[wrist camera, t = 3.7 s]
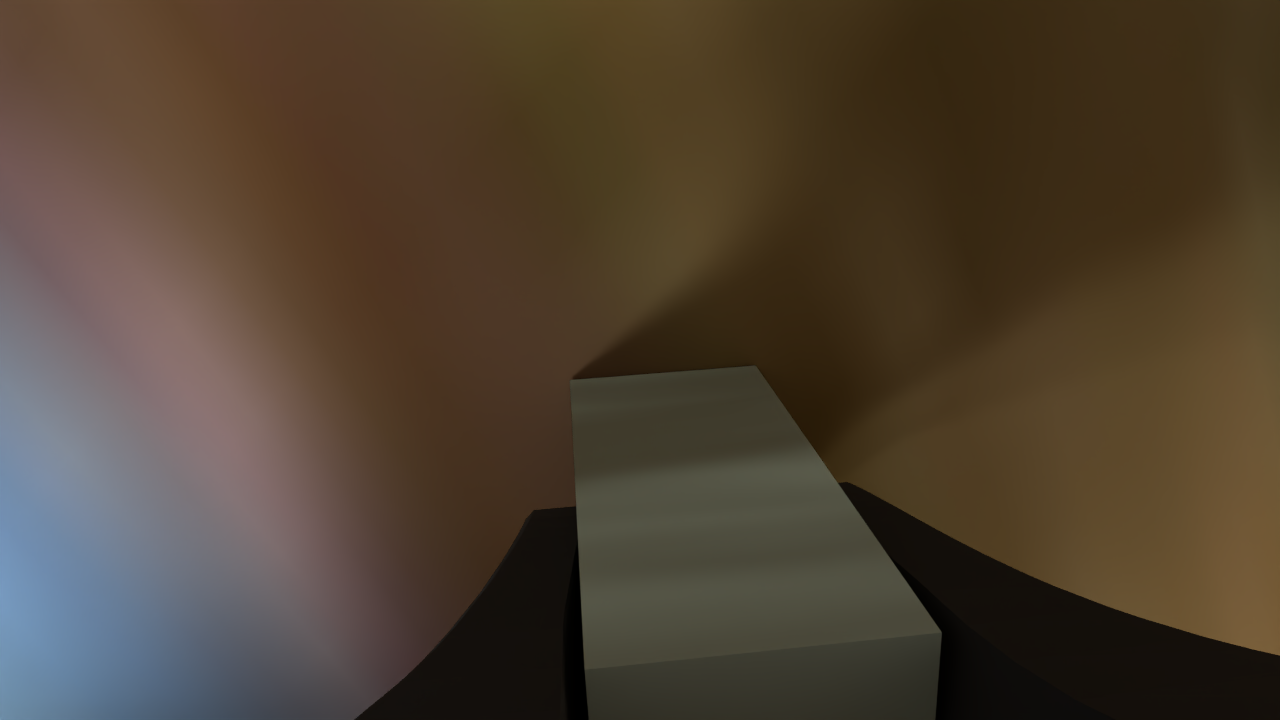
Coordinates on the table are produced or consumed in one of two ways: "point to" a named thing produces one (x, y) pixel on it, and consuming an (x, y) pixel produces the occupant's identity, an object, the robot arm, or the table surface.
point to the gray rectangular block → (732, 564)
